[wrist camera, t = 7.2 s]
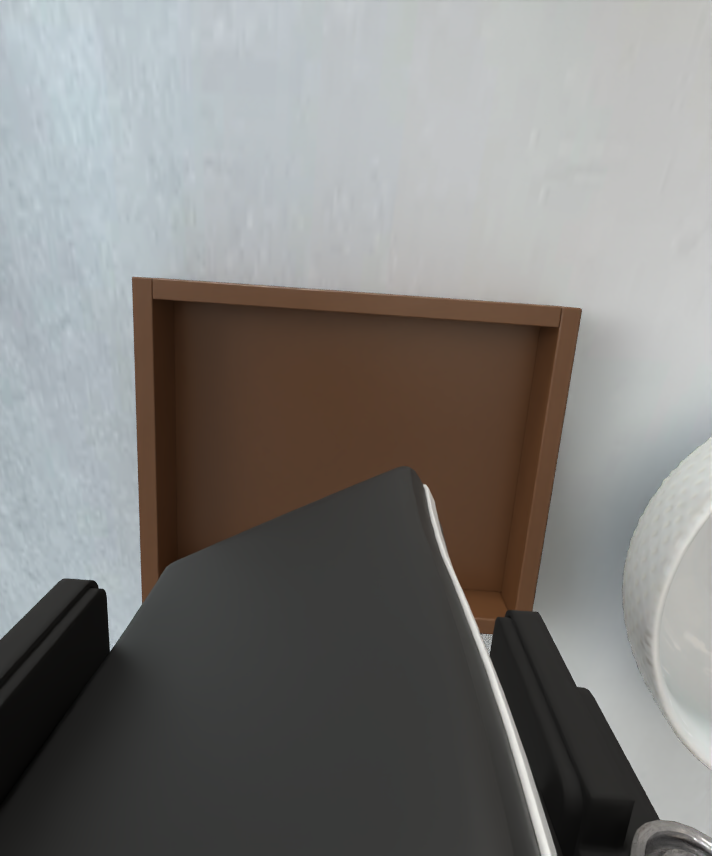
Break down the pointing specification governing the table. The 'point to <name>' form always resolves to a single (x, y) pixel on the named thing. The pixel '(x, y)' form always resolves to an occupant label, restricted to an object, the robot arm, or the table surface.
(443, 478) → the tray
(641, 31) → the table surface
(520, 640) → the robot arm
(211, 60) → the table surface
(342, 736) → the battery charger
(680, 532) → the cereal bowl
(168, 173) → the table surface
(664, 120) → the table surface
